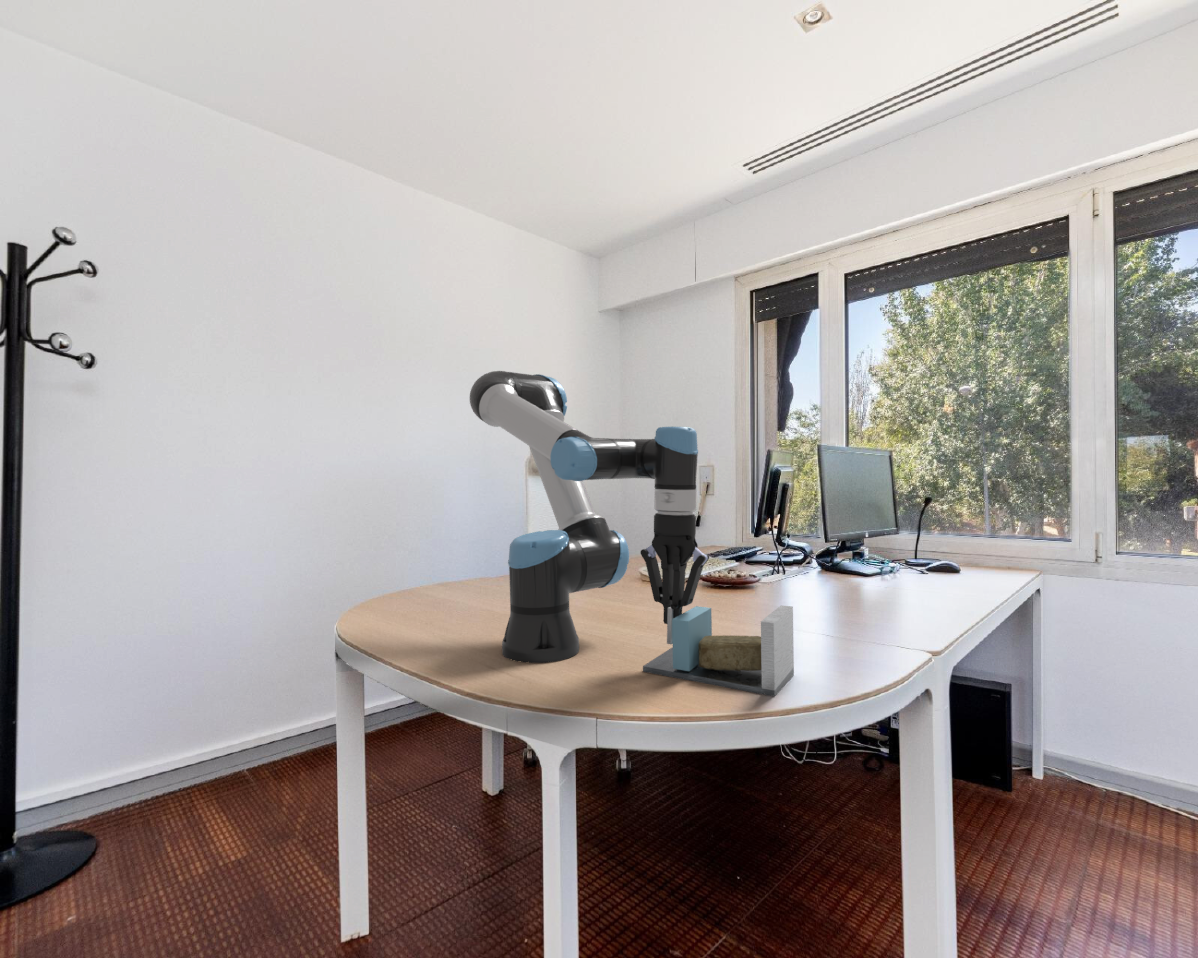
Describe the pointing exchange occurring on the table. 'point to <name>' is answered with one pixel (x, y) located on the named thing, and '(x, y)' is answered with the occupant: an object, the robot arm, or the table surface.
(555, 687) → the table surface
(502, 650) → the robot arm
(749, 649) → the stone block
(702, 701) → the table surface
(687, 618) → the sliding jaw
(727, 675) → the vise bed
